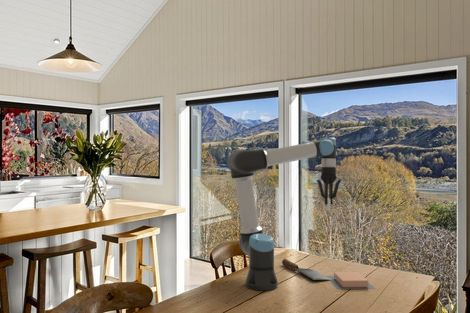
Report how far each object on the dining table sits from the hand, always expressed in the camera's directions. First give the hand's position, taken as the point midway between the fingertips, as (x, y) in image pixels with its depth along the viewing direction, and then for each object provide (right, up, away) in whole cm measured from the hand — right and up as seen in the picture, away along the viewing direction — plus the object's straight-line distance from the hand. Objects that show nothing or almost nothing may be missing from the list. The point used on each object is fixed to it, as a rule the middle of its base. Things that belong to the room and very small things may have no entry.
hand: (328, 210), depth 208 cm
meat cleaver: (-13, -32, -2) cm, 35 cm away
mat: (+6, -32, -19) cm, 38 cm away
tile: (+5, -30, -14) cm, 33 cm away
